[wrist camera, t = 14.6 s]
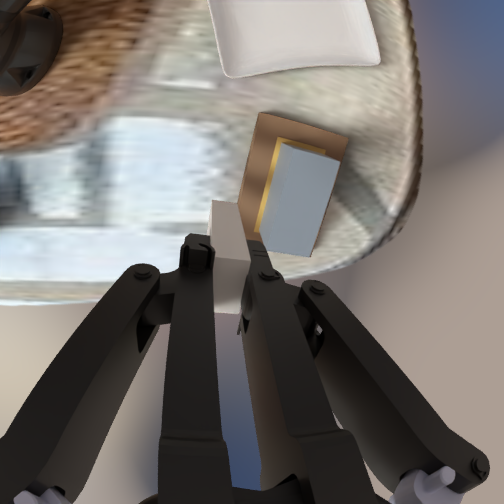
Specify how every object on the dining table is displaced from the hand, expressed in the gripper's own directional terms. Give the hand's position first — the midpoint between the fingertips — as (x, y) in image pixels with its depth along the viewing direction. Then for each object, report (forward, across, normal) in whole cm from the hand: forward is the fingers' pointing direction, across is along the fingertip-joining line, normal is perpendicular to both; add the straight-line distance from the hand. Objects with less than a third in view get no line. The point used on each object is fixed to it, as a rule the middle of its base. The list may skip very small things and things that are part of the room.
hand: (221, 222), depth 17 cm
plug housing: (+18, +10, -2) cm, 21 cm away
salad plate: (+22, +5, +24) cm, 33 cm away
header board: (+21, +10, -2) cm, 23 cm away
